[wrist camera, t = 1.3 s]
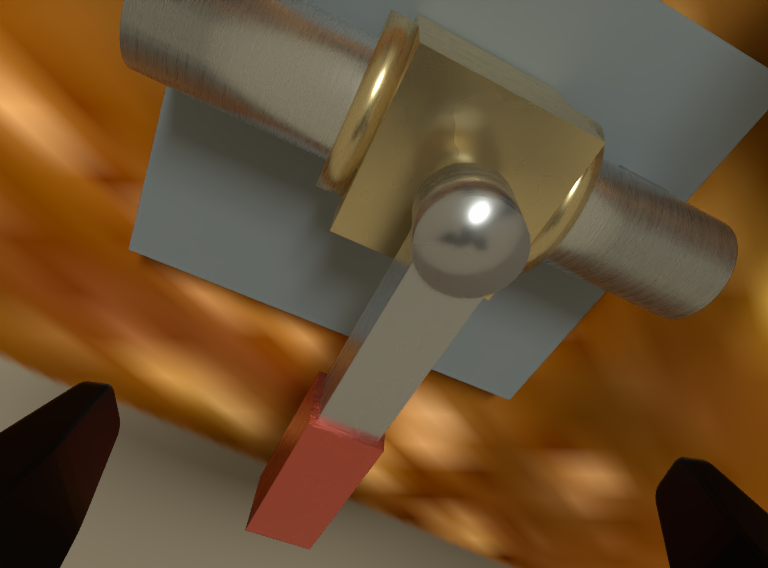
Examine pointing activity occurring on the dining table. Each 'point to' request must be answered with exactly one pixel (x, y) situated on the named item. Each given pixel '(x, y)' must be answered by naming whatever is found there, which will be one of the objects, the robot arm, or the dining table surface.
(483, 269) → the valve lever
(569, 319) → the valve board
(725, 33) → the dining table surface
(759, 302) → the dining table surface
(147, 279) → the dining table surface
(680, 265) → the valve body
